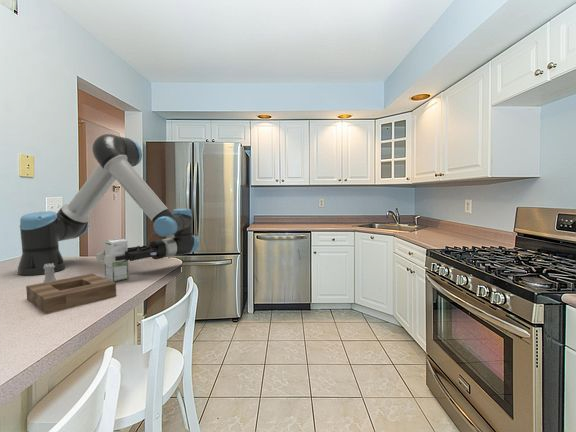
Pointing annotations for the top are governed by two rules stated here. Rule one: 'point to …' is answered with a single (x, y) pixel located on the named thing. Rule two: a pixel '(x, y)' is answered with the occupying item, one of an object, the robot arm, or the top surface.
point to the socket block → (70, 292)
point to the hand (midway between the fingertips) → (100, 258)
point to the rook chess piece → (49, 272)
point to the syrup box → (116, 269)
